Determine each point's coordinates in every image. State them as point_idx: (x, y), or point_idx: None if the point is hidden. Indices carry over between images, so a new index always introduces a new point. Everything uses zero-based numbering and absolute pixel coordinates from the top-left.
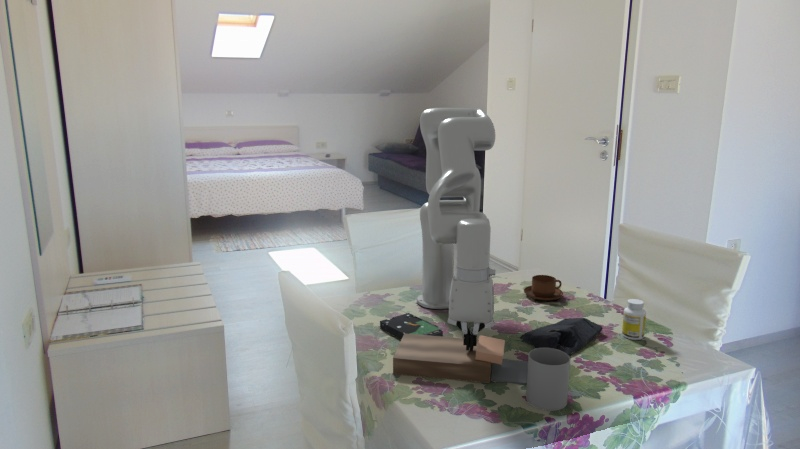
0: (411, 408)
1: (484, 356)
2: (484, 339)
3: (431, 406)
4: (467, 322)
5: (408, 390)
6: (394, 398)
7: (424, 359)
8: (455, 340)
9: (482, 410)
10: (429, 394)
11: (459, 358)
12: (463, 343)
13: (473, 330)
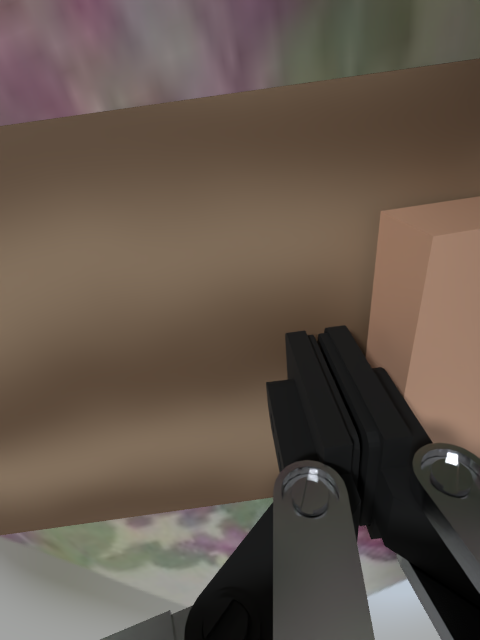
0: (155, 578)
1: None
2: (469, 310)
3: (207, 559)
4: (360, 604)
5: (95, 525)
6: (79, 563)
7: (67, 514)
8: (136, 194)
9: (362, 534)
10: (176, 521)
11: (255, 454)
12: (272, 433)
13: (419, 588)
